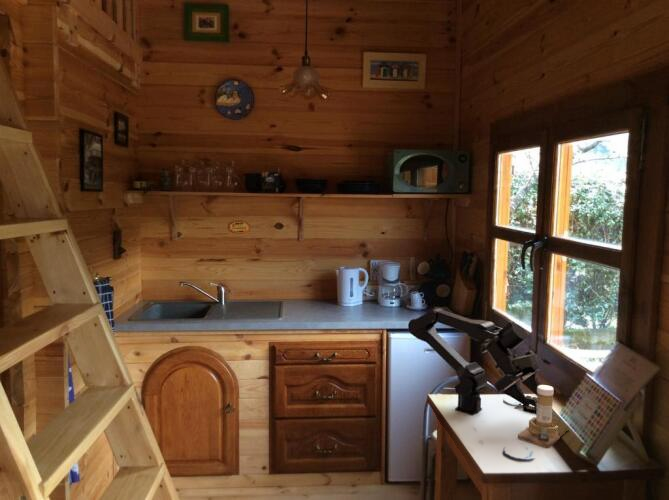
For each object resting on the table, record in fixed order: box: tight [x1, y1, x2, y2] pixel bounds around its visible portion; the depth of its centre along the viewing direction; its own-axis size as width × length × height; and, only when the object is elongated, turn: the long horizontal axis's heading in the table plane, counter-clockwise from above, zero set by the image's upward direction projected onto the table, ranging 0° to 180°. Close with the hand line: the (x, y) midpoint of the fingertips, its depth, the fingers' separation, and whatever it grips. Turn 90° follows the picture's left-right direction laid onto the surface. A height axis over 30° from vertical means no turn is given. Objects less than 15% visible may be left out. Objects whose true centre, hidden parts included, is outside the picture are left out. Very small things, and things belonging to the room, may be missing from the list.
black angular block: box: [513, 395, 537, 415], centre depth 183 cm, size 12×7×5 cm, turn 51°
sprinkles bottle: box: [535, 384, 555, 427], centre depth 164 cm, size 5×5×13 cm
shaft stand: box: [517, 416, 560, 449], centre depth 165 cm, size 9×16×4 cm, turn 138°
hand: (535, 401), depth 166 cm, fingers open, 9 cm apart
